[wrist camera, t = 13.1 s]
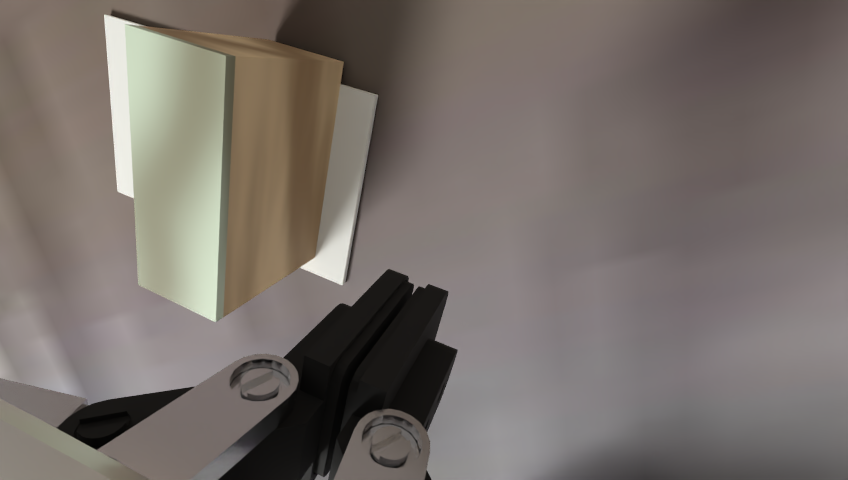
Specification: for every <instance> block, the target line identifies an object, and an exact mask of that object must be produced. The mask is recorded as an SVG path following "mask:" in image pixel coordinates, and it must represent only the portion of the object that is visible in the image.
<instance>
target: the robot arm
mask: <svg viewBox="0 0 848 480" xmlns="http://www.w3.org/2000/svg"><path fill="white" fill-rule="evenodd" d="M408 279H409V278H408V276H406V275H403V274H401V273H398V272H395V271H393V270H390V269H388V270H387V271H386V272H385V273H384V274H383V275H382V276H381V277H380V278H379V279H378V280H377V281H376V282H375V283H374V284H373V285H372V286H371V287H370V288H369V289H368V290H367V291H366V292H365V293H364V294H363V295H362V296H361V297H360V298H359V300H358V301H357V302H356V303H355V304H354V305H353V306H352V307H351V306H348V305H346V304H343V303H342V304H339V305H338V306H337V307H335V308H334V309H333V310H332V311H331V312H330V313H329V314H328V315H327V316H326V317H325V318H324V319H323V320H322V321H321V322H320V323H319V324H318V325H317V326H316V327H315V328H314V329H313V330H312V331H311V332H310V333H309V334H308V335H307V336H305V337H304V338H303V339H302V340H301V341H300V342H299V343H298V344H297V345H296V346H295V347H294V348H293V349H292V350H291V351H290V352H289V353H288V354H287V355H286V356H285V357H284V358H282V357H280V356H277V355H271V354H254V355H250V356H246V357H243V358H241V359H239V360H237V361H235V362H233V363H232V364H230V365H228V366H227V367H225V368H224V369H222V370H221V371H219V372H217V373H216V374H214V375H213V376H211V377H210V378H208V379H207V380H205V381H203V382H202V383H200V384H199V385H197V386H196V387H189V388H183V389H176V390H170V391H163V392H156V393H150V394H143V395H136V396H130V397H123V398H117V399H110V400H106V401H101V402H97V403H94V404H91V405H88V402H87V399H86V398H82V397H77V396H73V395H69V394H65V393H60V392H56V391H52V390H48V389H43V388H39V387H35V386H31V385H26V384H22V383H18V382H14V381H9V380H5V379H1V378H0V480H314V479H315V478H316V476H317V475H318V474H319V475H321V476H323V477H325V476H326V475H327V474H328V472H329V471H330V474H329V479H328V480H431V478H430V476H429V474H428V472H427V465H428V460H429V455H430V440H429V437H428V434H427V431H428V429H429V426H430V424H431V422H432V419H433V417H434V414H435V412H436V410H437V407H438V405H439V403H440V400H441V398H442V395H443V392H444V390H445V387H446V384H447V381H448V379H449V376H450V373H451V370H452V367H453V364H454V361H455V358H456V354H457V349H454V348H452V347H449V346H447V345H444V344H442V343H439V342H437V341H435V337H436V334H437V331H438V327H439V324H440V321H441V317H442V314H443V310H444V307H445V304H446V300H447V297H448V291H446V290H443V289H440V288H438V287H435V286H432V285H430V284H428V285H427V286H426V288H422V287H418V288H417V289H416V291H415V292H414V293H413V295H412V292H413V288H414V284H412V283H409V282H408Z"/></svg>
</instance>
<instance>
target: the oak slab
mask: <svg viewBox="0 0 848 480" xmlns="http://www.w3.org/2000/svg"><path fill="white" fill-rule="evenodd" d="M125 38H126V57H127V76H128V95H129V114H130V133H131V152H132V171H133V191H134V210H135V229H136V248H137V267H138V285H140V286H142V287H144V288H146V289H148V290H150V291H152V292H154V293H156V294H158V295H160V296H163V297H165V298H167V299H169V300H171V301H173V302H175V303H177V304H179V305H181V306H183V307H185V308H187V309H189V310H191V311H194V312H196V313H198V314H200V315H202V316H204V317H206V318H208V319H210V320H212V321H214V322H217V321H218V320H220V319H221V318H223V317H225V316H226V315H228V314H229V313H231V312H232V311H234V310H235V309H237V308H238V307H240V306H241V305H243V304H244V303H246V302H248V301H249V300H251V299H252V298H254V297H255V296H257V295H258V294H260V293H261V292H263V291H264V290H266V289H267V288H269V287H271V286H272V285H274V284H275V283H277V282H278V281H280V280H281V279H283V278H284V277H286V276H287V275H289V274H290V273H292V272H293V271H295V270H297V269H298V268H300V267H301V266H303V265H304V264H306V263H307V262H309V261H310V260H312V259H313V258H315V255H316V248H317V241H318V234H319V227H320V220H321V214H322V207H323V200H324V193H325V186H326V180H327V173H328V166H329V159H330V152H331V145H332V139H333V132H334V125H335V118H336V111H337V105H338V98H339V91H340V84H341V77H342V70H343V64H344V62H343V61H339V60H336V59H332V58H329V57H326V56H322V55H319V54H315V53H312V52H309V51H305V50H302V49H298V48H295V47H292V46H288V45H285V44H281V43H278V42H275V41H271V40H267V39H258V38H249V37H240V36H230V35H221V34H212V33H203V32H193V31H184V30H175V29H165V28H156V27H147V26H138V25H128V24H125Z"/></svg>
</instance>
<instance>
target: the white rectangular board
mask: <svg viewBox="0 0 848 480" xmlns="http://www.w3.org/2000/svg"><path fill="white" fill-rule="evenodd" d="M104 19H105V32H106V45H107V58H108V72H109V85H110V98H111V111H112V124H113V137H114V151H115V164H116V177H117V190H118V192H120V193H123V194H125V195H127V196H130V197H132V198H134V191H133V171H132V152H131V133H130V114H129V95H128V76H127V57H126V38H125V24H128V25H138V26H145V25H141V24H138V23H134V22H131V21H128V20H124V19H121V18H118V17H114V16H111V15H105V14H104ZM147 27H148V26H147ZM377 99H378V95H377V94H373V93H370V92H366V91H363V90H360V89H356V88H353V87H350V86H346V85H343V84H340V91H339V98H338V105H337V111H336V118H335V125H334V132H333V139H332V145H331V152H330V159H329V166H328V173H327V180H326V186H325V193H324V200H323V207H322V214H321V220H320V227H319V234H318V241H317V248H316V255H315V258H313V259H312V260H310V261H309V262H307V263H306V264H304V265H303V266H301V267H300V268H302V269H304V270H307V271H309V272H312V273H314V274H316V275H319V276H321V277H324V278H326V279H328V280H331V281H333V282H336V283H338V284H340V285H343V284H345V281H346V276H347V270H348V264H349V259H350V253H351V247H352V241H353V236H354V230H355V224H356V219H357V213H358V207H359V202H360V196H361V190H362V185H363V179H364V173H365V168H366V162H367V156H368V151H369V145H370V139H371V134H372V128H373V122H374V116H375V111H376V105H377Z"/></svg>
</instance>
